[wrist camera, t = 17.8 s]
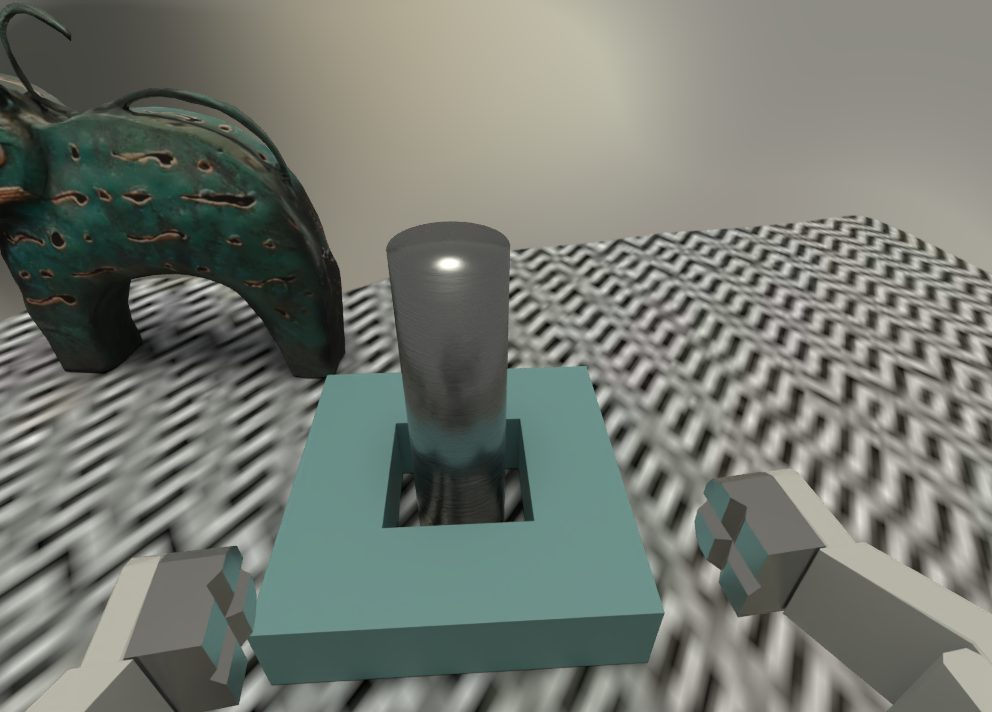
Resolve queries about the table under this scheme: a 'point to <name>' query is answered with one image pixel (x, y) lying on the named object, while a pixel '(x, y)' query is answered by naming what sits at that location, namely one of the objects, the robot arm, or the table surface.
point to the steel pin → (454, 365)
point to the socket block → (455, 548)
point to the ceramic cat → (155, 219)
